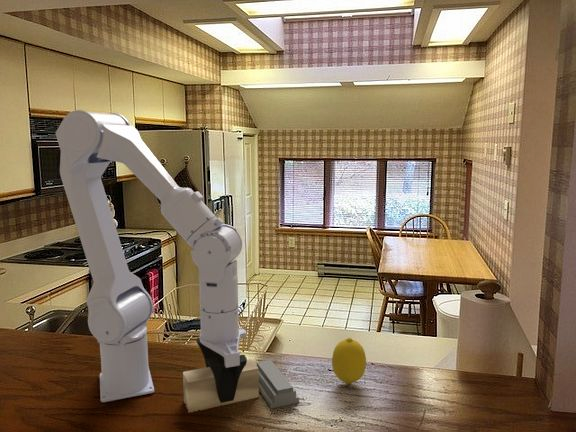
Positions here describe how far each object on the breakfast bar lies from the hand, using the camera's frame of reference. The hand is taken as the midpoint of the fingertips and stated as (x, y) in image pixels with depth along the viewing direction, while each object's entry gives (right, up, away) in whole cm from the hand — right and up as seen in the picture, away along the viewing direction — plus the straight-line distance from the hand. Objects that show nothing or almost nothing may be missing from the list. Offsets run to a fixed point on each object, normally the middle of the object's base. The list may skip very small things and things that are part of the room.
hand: (221, 390), depth 75 cm
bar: (0, -2, 0) cm, 2 cm away
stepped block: (+8, -1, +3) cm, 9 cm away
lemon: (+20, -1, +5) cm, 21 cm away
